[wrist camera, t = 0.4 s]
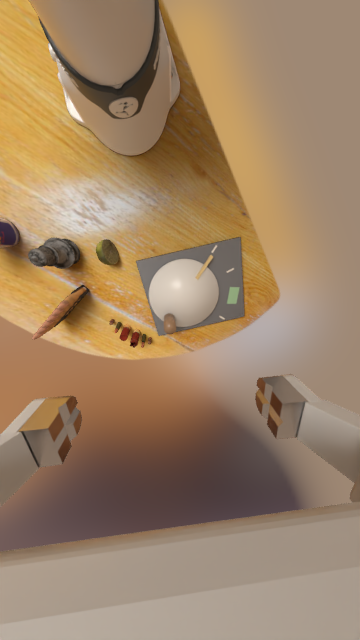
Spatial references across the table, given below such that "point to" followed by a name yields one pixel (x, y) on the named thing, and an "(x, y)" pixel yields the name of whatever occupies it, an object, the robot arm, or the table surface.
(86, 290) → the ammunition clip
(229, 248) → the dial plate
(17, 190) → the table surface
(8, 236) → the energy drink
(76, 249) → the salt shaker
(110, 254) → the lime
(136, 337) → the ammunition
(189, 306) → the dial
